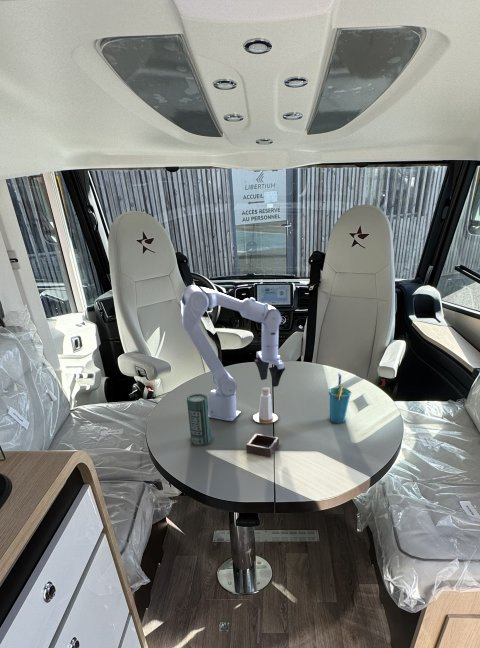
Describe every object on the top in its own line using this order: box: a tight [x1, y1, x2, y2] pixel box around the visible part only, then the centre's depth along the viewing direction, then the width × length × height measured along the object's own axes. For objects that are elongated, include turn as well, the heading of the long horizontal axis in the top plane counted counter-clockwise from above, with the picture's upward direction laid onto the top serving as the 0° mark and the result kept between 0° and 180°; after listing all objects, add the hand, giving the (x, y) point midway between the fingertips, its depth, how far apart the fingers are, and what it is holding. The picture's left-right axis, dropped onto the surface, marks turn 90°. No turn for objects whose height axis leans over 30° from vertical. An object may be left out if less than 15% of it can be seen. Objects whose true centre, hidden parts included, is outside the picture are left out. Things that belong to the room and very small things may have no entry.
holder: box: [245, 433, 280, 458], centre depth 139 cm, size 8×8×3 cm
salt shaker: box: [258, 386, 273, 420], centre depth 155 cm, size 5×5×11 cm
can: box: [186, 393, 212, 446], centre depth 140 cm, size 6×6×15 cm
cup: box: [328, 372, 352, 424], centre depth 154 cm, size 14×8×15 cm, turn 179°
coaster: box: [252, 412, 279, 425], centre depth 158 cm, size 9×9×1 cm
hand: (269, 382), depth 158 cm, fingers open, 7 cm apart
